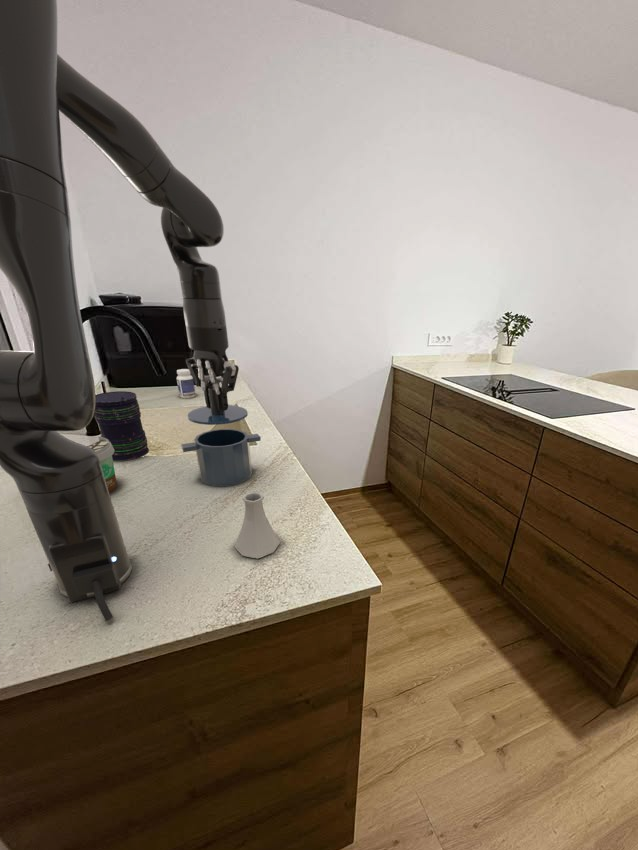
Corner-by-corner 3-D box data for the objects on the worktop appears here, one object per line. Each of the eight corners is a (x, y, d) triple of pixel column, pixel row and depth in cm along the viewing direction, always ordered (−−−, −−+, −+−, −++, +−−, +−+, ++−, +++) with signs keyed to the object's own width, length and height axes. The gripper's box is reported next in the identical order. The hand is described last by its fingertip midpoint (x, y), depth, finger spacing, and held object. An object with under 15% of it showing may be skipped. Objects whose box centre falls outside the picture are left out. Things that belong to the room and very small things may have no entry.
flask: (257, 564, 63) (252, 513, 58) (227, 549, 66) (220, 499, 62) (287, 543, 69) (284, 494, 64) (258, 529, 72) (253, 482, 67)
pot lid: (254, 423, 83) (251, 392, 80) (193, 430, 77) (187, 398, 74) (240, 407, 92) (237, 379, 89) (184, 413, 87) (179, 383, 84)
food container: (92, 507, 76) (77, 461, 72) (65, 503, 77) (49, 458, 73) (136, 480, 87) (125, 438, 82) (112, 476, 88) (100, 435, 83)
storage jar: (96, 456, 97) (79, 398, 90) (130, 443, 105) (116, 389, 99) (125, 464, 94) (109, 404, 87) (158, 450, 102) (145, 394, 96)
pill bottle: (198, 395, 150) (194, 369, 146) (189, 399, 145) (185, 372, 141) (185, 393, 151) (181, 368, 147) (176, 397, 146) (171, 370, 142)
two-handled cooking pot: (268, 478, 90) (265, 440, 86) (192, 493, 83) (184, 452, 79) (255, 460, 99) (252, 424, 95) (185, 472, 92) (178, 434, 87)
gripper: (166, 321, 76) (181, 407, 84) (215, 328, 70) (226, 419, 78) (198, 319, 82) (209, 399, 90) (246, 325, 75) (253, 411, 83)
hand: (217, 408), depth 84 cm, fingers closed on pot lid, 3 cm apart
